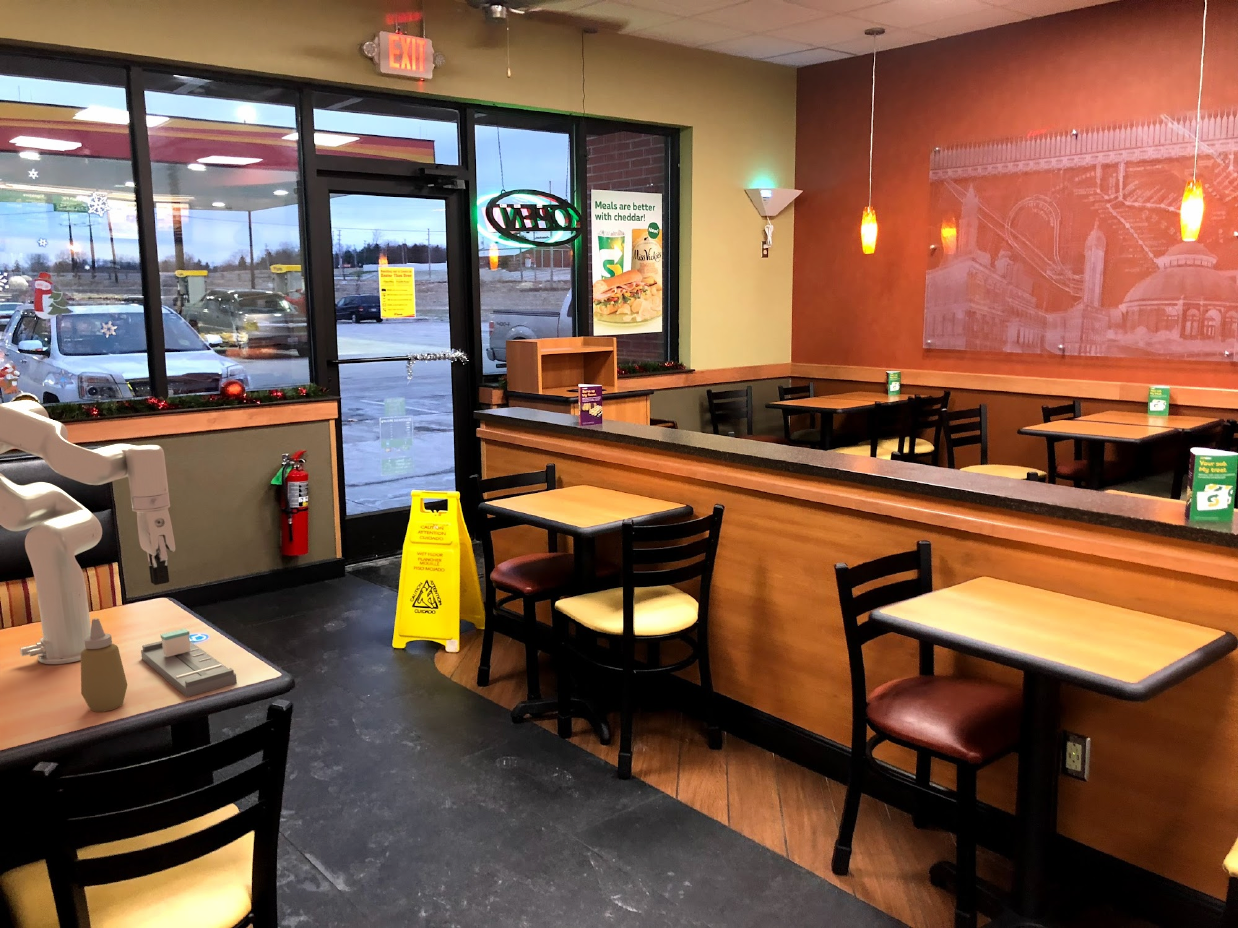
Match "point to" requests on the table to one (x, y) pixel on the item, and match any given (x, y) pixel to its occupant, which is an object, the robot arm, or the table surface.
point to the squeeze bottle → (102, 671)
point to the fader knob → (175, 642)
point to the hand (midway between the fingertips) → (160, 582)
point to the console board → (189, 669)
